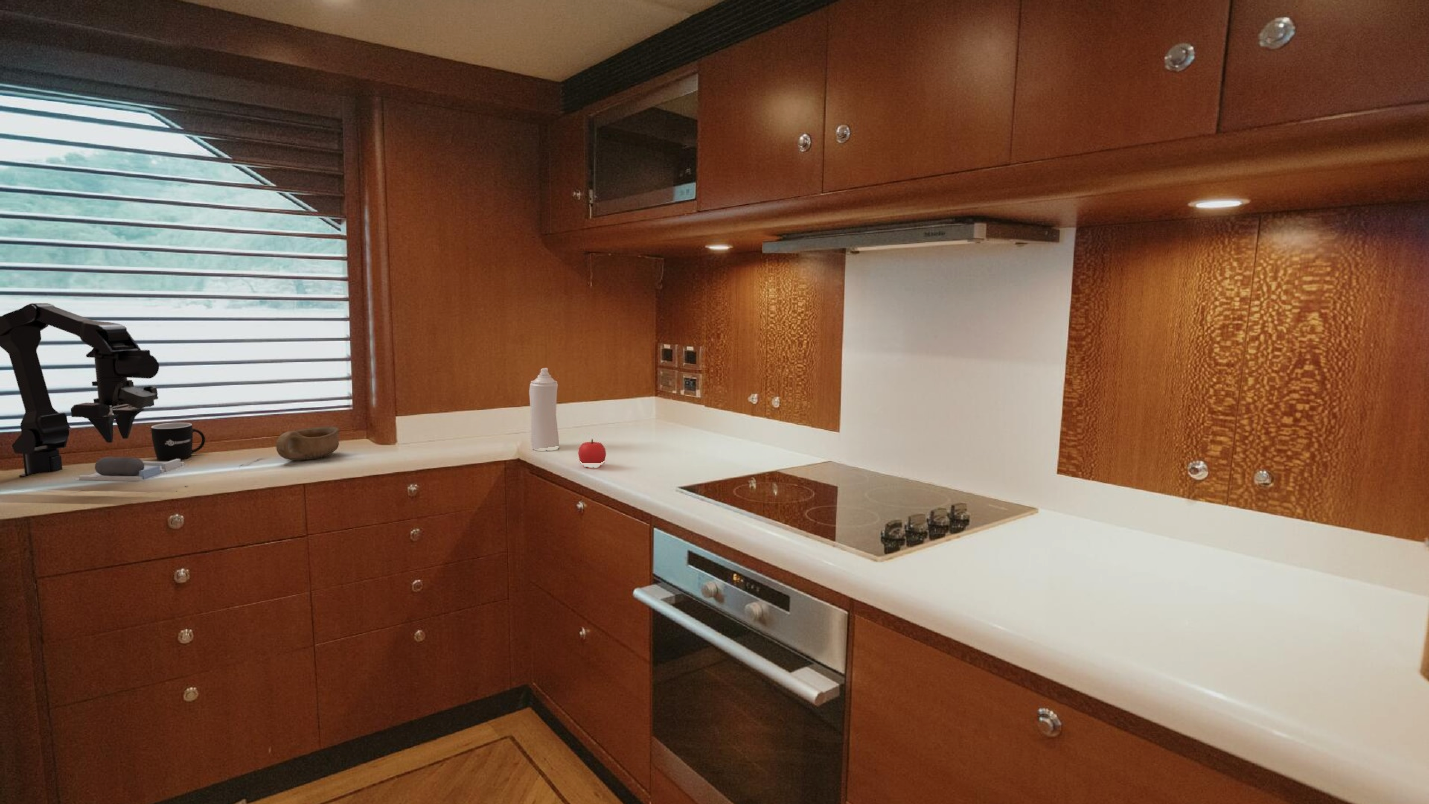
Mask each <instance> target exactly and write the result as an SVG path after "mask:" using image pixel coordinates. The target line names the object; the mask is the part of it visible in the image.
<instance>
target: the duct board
mask: <svg viewBox="0 0 1429 804" xmlns="http://www.w3.org/2000/svg"><path fill="white" fill-rule="evenodd" d="M142 461H143V460H142ZM143 463H144V470H141V471H139V475H137V476H103V475H100V474H98V473H97V472H95V473H92V474H88V475H84V474H83V475H82V474H81V475H79V476H78V477H77V478H75V479H74V480H75V481H76V480H77V481H115V482H117V481H121V482H122V481H123V482H125V481H126V482H129V481H130V482H145V481H148V480H151V479H154V478H157V477H160V476H162V475H165V474H166V475H167V474H168V473H171V472H174V471H176V470H180V469H182V468H183V469H184V468H186V467H189V464H186V463H185V462H184V461H182V460H180V459H175V460H171V461H147V460H144V461H143Z"/></svg>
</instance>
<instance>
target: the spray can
mask: <svg viewBox="0 0 1429 804" xmlns="http://www.w3.org/2000/svg"><path fill="white" fill-rule="evenodd" d="M558 387H559V385H558V381H557V380H555V379H554V378H553V377H552V375H551V374H550V373H549V368H548V367H543V368H541V369H540V372H539V374H538V375H537V377H536V378H535V379H534V380H530V383H529V390H528V395H529V408H530V444H531V445H530V446H531V450H532V449H539V448H548V447H555V446H559V447H560V440H559V437H560V436H559V431H558V430H559V429H558V422H557V421H558V420H557V419H558V418H557V401H558V399H557V397H558Z"/></svg>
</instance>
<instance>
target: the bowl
mask: <svg viewBox="0 0 1429 804" xmlns="http://www.w3.org/2000/svg"><path fill="white" fill-rule="evenodd" d="M339 432H340V429H339V428H338V427H337V426H317V427H315V426H314V427H309V428H303V429H296V430H288V431H285V432H284V433H281V434H280V435H279V436H278V438H277V440H276V444H275V445H276V446H275V447H276V448H275V449H276V451H277V453H278V456H280V457H281V458H283V459H285V460H290V461H291V460H292V461H293V460H294V461H297V460H298V461H302V460H303V461H304V460H315V459H321V458H325V457H326V456H328V455H331V454H333V453H334V452H335V451H336V450H337V449H338V448H339V445H340V443H339V442H340V441H339V438H340V437H339Z"/></svg>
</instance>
